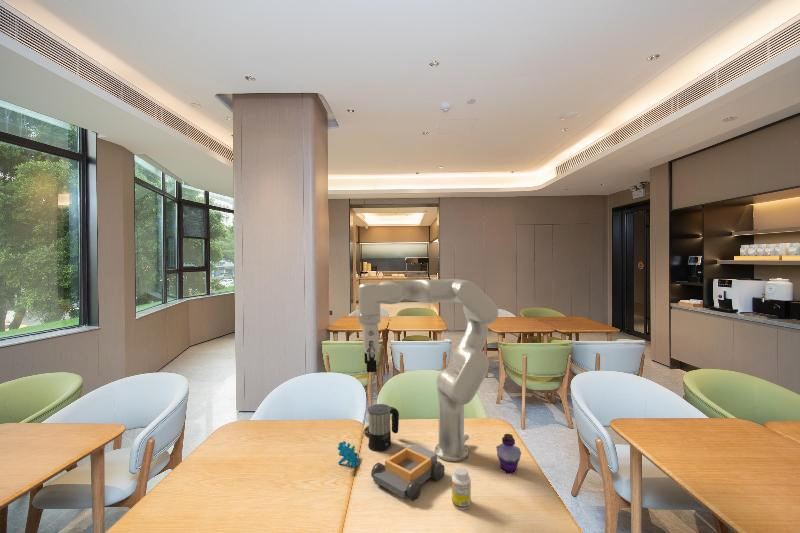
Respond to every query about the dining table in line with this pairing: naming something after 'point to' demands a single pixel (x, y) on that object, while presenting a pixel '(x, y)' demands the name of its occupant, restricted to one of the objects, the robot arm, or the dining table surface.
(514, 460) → the potion bottle
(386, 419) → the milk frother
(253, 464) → the dining table surface
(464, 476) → the supplement bottle
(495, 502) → the dining table surface
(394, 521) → the dining table surface
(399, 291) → the robot arm
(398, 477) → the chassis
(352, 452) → the gear
